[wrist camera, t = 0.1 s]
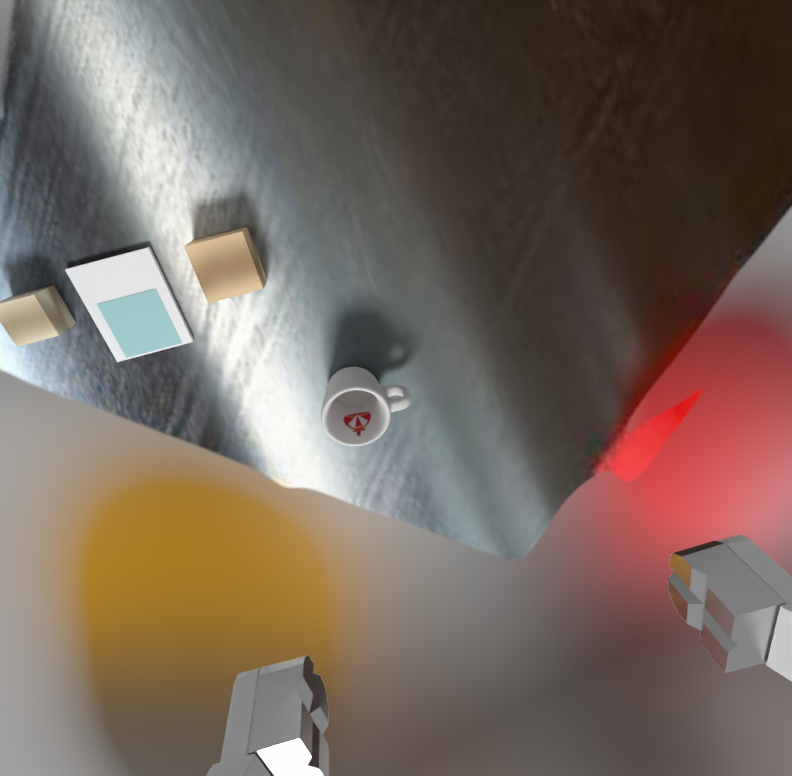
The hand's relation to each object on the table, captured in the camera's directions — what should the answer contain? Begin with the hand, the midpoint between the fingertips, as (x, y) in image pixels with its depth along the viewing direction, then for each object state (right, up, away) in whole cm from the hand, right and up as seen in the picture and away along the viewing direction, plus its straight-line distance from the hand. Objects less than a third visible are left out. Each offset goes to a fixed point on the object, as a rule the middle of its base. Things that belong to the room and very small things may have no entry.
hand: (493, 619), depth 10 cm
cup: (-6, +5, +51) cm, 51 cm away
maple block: (-41, +14, +41) cm, 59 cm away
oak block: (-20, +19, +42) cm, 50 cm away
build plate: (-31, +14, +42) cm, 54 cm away
